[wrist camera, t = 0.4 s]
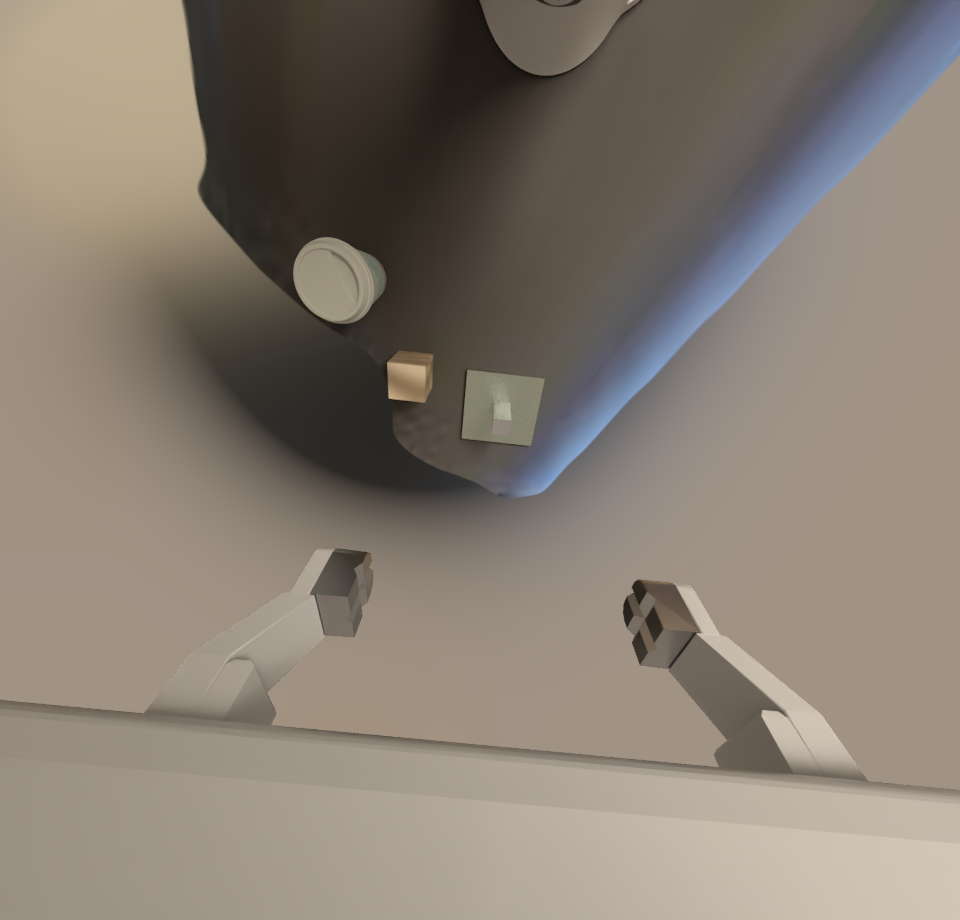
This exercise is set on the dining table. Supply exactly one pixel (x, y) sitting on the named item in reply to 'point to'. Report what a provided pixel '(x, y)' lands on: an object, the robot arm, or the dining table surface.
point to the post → (501, 406)
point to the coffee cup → (337, 280)
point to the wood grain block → (410, 376)
